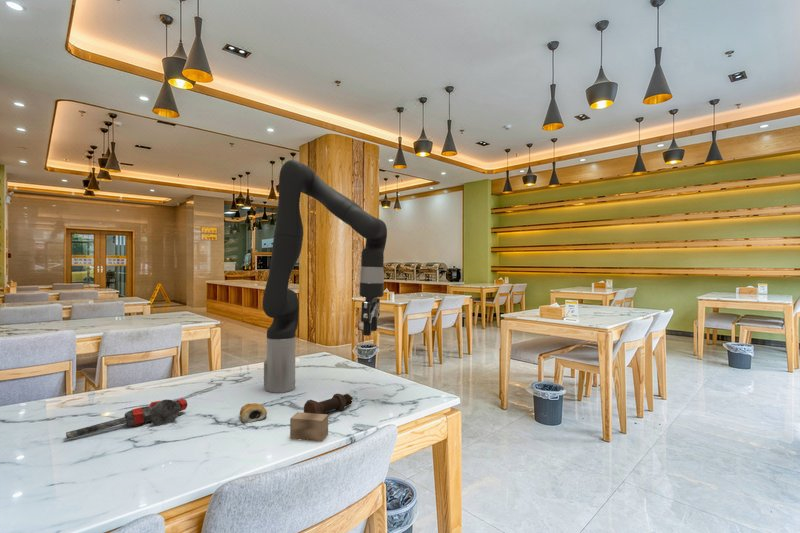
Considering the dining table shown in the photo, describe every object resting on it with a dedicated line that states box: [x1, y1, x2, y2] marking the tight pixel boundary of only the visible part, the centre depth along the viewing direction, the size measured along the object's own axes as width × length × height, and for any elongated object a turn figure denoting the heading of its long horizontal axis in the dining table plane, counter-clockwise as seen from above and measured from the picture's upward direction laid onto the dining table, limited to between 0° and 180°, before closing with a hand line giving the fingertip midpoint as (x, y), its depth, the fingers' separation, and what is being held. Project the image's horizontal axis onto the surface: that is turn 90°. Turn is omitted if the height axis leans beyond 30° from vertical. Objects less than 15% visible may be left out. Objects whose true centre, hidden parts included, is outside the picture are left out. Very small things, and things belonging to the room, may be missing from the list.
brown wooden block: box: [289, 411, 329, 443], centre depth 95 cm, size 8×4×5 cm, turn 80°
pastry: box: [238, 402, 268, 424], centre depth 108 cm, size 9×7×4 cm
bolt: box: [303, 393, 354, 414], centre depth 111 cm, size 6×5×15 cm
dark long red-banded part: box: [65, 397, 188, 440], centre depth 103 cm, size 6×26×15 cm
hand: (370, 333), depth 124 cm, fingers open, 8 cm apart
